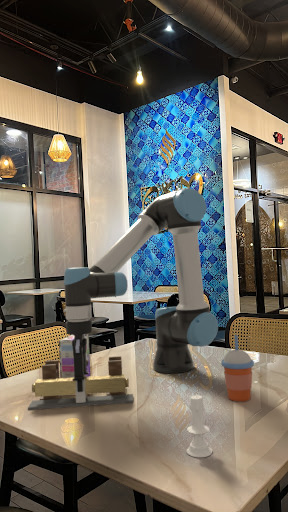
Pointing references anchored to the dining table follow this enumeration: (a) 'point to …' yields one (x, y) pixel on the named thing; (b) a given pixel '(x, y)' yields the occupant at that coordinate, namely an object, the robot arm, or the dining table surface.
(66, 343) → the candy box
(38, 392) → the rail
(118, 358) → the post
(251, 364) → the cup with straw
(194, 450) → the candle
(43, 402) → the grey plank
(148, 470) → the dining table surface
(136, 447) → the dining table surface
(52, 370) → the post
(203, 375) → the dining table surface
